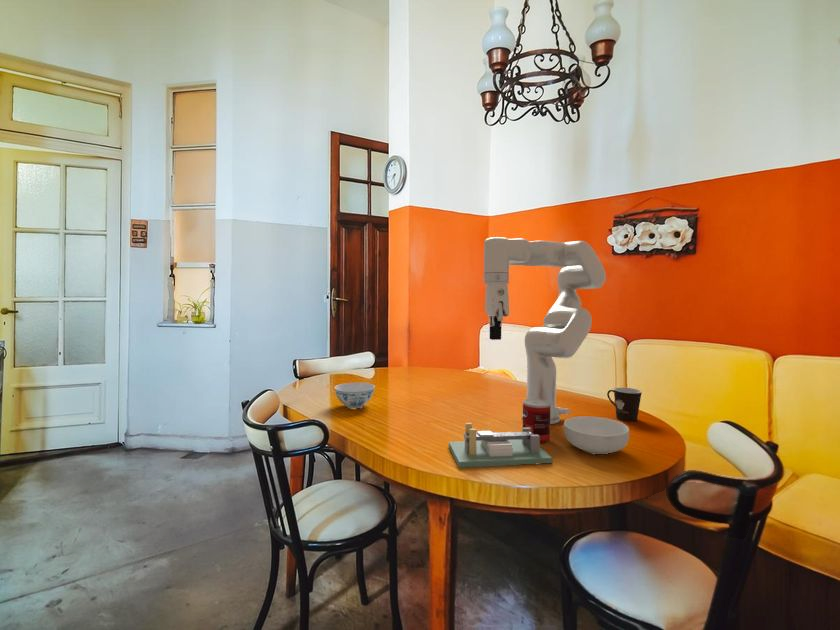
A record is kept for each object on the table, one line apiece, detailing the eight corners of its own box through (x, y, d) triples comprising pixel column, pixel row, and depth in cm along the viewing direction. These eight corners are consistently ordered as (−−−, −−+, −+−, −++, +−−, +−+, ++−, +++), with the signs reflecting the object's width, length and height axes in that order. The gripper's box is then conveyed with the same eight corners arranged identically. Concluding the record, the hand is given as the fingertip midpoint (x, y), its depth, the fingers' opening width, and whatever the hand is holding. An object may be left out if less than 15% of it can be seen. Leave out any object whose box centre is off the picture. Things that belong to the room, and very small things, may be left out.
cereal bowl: (564, 436, 125) (565, 413, 125) (625, 443, 119) (626, 419, 119) (561, 456, 110) (562, 430, 109) (632, 466, 104) (632, 438, 103)
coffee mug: (645, 422, 138) (646, 393, 138) (620, 422, 138) (621, 393, 138) (628, 412, 150) (629, 385, 150) (604, 412, 150) (605, 385, 150)
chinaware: (339, 401, 164) (339, 382, 164) (377, 402, 164) (377, 382, 163) (330, 412, 149) (330, 391, 149) (371, 412, 149) (371, 391, 148)
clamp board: (531, 443, 119) (531, 416, 118) (552, 463, 105) (552, 432, 104) (448, 446, 116) (449, 418, 116) (459, 467, 102) (459, 436, 102)
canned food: (528, 432, 129) (529, 397, 128) (553, 438, 123) (554, 401, 123) (517, 439, 123) (518, 402, 122) (543, 445, 118) (544, 407, 117)
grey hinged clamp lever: (530, 435, 113) (530, 429, 113) (536, 440, 109) (536, 434, 109) (463, 437, 111) (463, 430, 111) (466, 442, 107) (466, 435, 107)
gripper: (516, 278, 118) (515, 342, 119) (500, 279, 133) (499, 336, 134) (491, 278, 117) (490, 342, 118) (477, 279, 132) (477, 336, 133)
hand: (495, 339), depth 126 cm, fingers closed
